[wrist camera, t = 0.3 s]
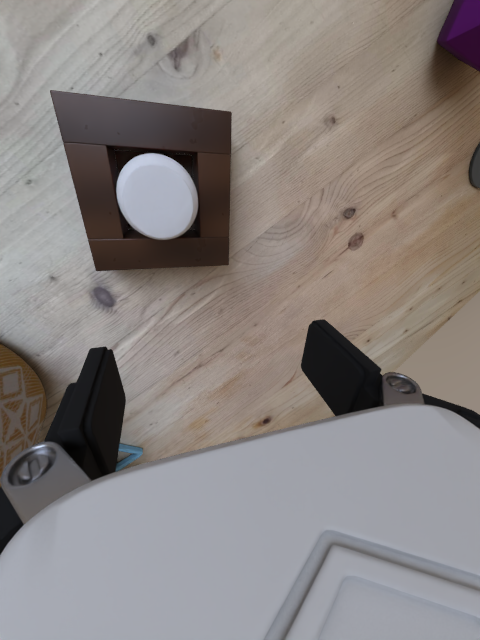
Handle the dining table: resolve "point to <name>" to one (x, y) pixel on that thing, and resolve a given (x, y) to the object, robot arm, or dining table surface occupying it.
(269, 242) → the dining table surface
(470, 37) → the perfume bottle
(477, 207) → the dining table surface
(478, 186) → the coaster
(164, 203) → the pill bottle
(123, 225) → the holder
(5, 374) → the planter
